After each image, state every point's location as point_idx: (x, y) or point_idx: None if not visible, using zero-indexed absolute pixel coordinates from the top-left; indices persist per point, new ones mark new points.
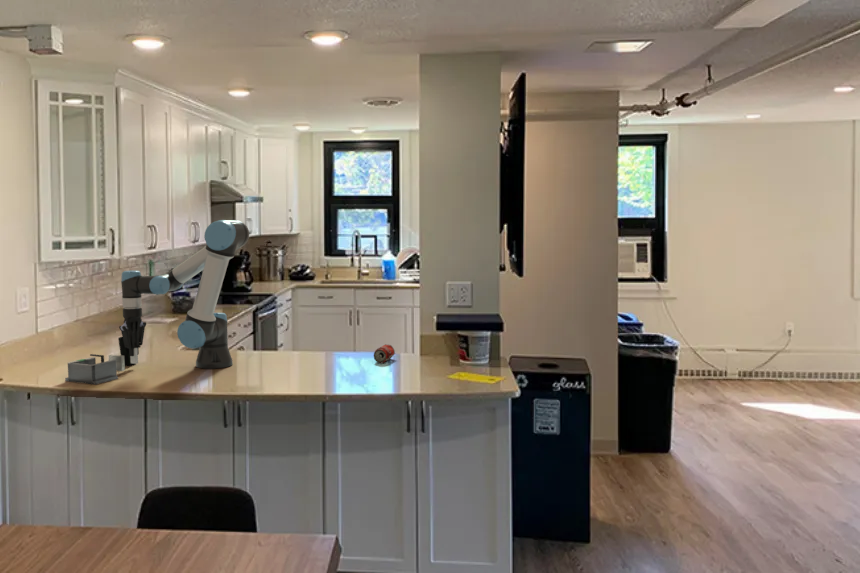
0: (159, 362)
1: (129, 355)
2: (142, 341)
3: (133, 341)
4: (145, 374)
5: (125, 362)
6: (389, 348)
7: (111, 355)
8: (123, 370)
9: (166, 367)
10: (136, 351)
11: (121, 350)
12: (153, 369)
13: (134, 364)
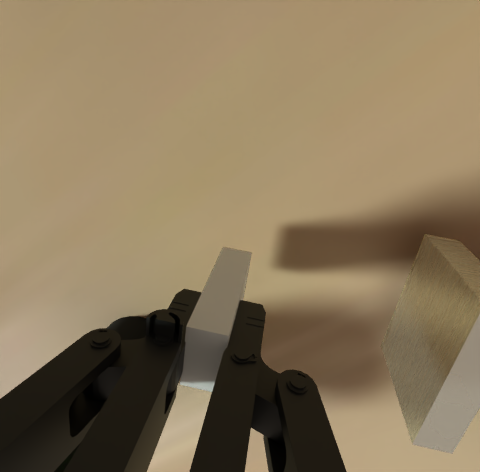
0: (4, 214)
1: None
2: (63, 357)
3: (225, 420)
4: (422, 32)
5: None
6: None
7: (467, 425)
8: (441, 237)
9: (110, 40)
10: (213, 307)
11: None
12: (212, 102)
13: (135, 318)
